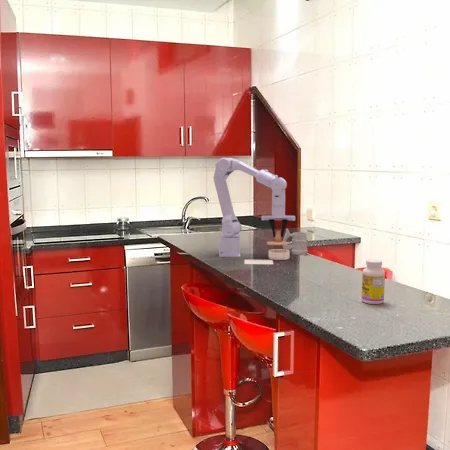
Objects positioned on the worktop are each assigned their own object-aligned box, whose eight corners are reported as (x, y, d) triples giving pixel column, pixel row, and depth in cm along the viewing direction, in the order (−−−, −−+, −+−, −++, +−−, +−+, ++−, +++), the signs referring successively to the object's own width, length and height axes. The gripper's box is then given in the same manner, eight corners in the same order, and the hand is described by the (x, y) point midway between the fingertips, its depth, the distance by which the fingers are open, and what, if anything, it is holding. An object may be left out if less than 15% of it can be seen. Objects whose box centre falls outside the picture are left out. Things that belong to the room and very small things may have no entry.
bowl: (268, 260, 238) (269, 252, 238) (268, 256, 247) (268, 249, 246) (289, 260, 238) (290, 252, 237) (288, 257, 246) (288, 249, 246)
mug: (309, 255, 251) (310, 229, 249) (284, 256, 249) (284, 229, 248) (305, 252, 258) (305, 227, 257) (280, 253, 257) (280, 227, 256)
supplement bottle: (358, 299, 172) (359, 258, 171) (379, 299, 173) (380, 258, 171) (365, 305, 166) (367, 262, 164) (387, 304, 166) (388, 262, 165)
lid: (266, 245, 236) (266, 230, 236) (267, 243, 245) (267, 230, 245) (288, 245, 235) (289, 231, 234) (289, 243, 244) (289, 230, 244)
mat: (244, 264, 228) (244, 263, 228) (244, 260, 238) (244, 259, 238) (273, 265, 227) (273, 264, 227) (272, 260, 237) (272, 259, 237)
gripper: (261, 206, 235) (261, 237, 237) (296, 206, 234) (295, 238, 236) (261, 205, 242) (261, 235, 244) (294, 205, 241) (294, 236, 243)
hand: (278, 236), depth 240 cm, fingers closed on lid, 3 cm apart
